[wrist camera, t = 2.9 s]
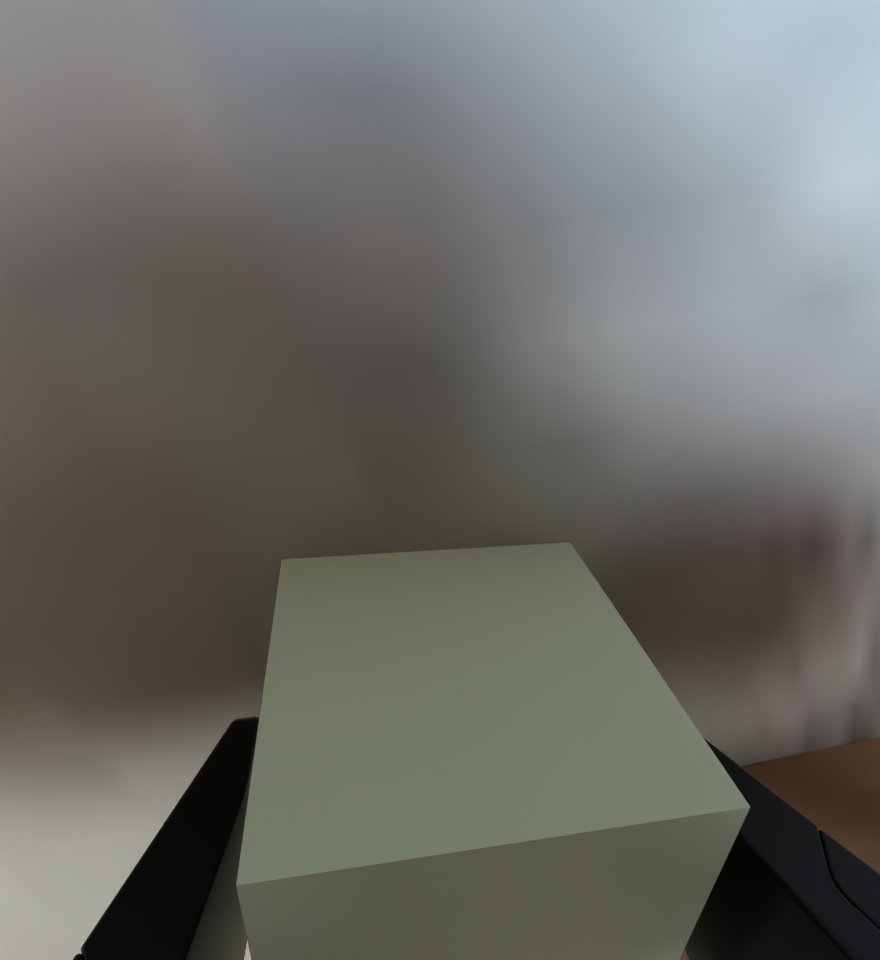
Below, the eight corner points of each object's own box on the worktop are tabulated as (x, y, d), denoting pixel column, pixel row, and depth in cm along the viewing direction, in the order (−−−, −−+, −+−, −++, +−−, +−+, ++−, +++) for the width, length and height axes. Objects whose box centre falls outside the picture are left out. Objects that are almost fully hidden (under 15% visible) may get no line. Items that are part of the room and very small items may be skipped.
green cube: (568, 539, 10) (750, 807, 6) (534, 731, 12) (647, 1029, 8) (282, 556, 9) (236, 885, 5) (302, 758, 11) (283, 1108, 7)
